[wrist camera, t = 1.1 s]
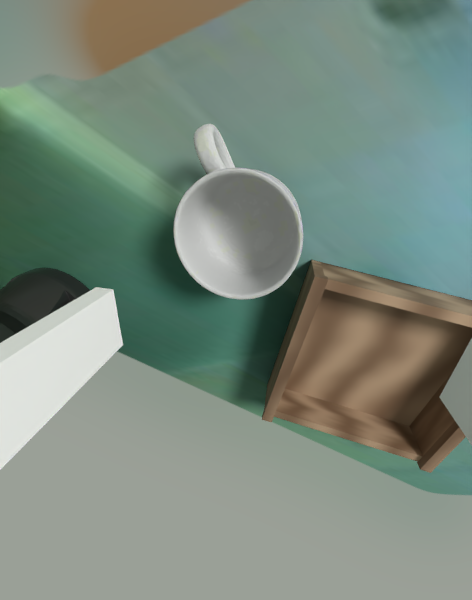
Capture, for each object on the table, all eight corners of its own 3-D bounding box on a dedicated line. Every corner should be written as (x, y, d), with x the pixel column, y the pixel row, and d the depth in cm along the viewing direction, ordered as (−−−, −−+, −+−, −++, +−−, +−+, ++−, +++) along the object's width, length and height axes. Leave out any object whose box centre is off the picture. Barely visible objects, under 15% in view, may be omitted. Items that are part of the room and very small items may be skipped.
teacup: (302, 268, 29) (305, 299, 22) (210, 275, 31) (186, 304, 24) (297, 120, 23) (298, 95, 16) (185, 142, 26) (143, 130, 19)
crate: (266, 385, 37) (261, 419, 32) (311, 257, 28) (314, 276, 23) (410, 429, 35) (430, 472, 30) (508, 307, 26) (560, 339, 21)
